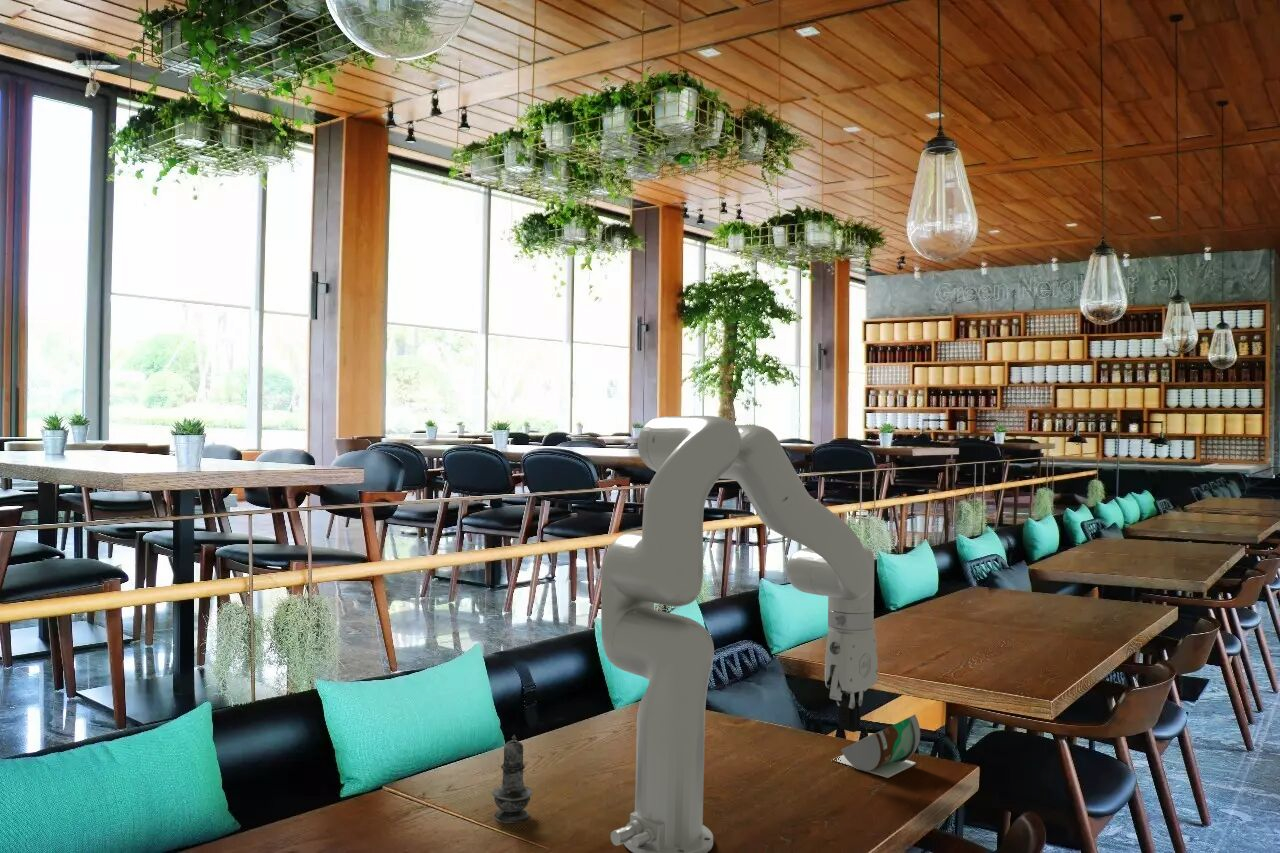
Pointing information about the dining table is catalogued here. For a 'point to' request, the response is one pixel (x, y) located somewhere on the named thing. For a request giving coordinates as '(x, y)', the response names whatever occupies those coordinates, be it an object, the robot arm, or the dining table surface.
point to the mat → (883, 767)
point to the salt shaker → (512, 786)
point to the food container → (885, 746)
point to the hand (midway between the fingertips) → (849, 729)
